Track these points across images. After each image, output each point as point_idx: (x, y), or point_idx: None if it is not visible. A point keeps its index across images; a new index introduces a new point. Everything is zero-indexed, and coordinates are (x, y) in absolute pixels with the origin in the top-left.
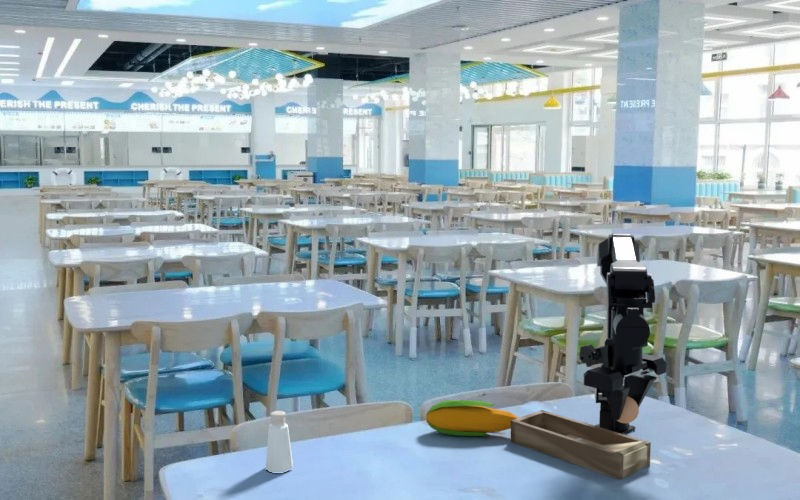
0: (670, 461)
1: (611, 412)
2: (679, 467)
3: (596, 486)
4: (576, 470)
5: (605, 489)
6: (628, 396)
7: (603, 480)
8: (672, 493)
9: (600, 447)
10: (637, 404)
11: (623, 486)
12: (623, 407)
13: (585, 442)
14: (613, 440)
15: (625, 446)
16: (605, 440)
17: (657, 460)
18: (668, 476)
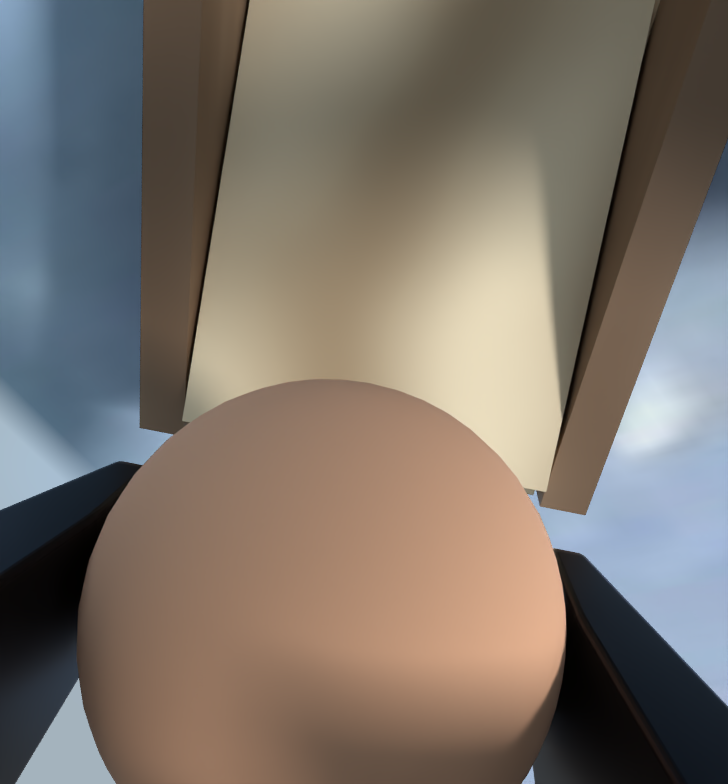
0: (697, 496)
1: (32, 500)
2: (617, 559)
3: (14, 280)
4: (129, 26)
5: (21, 341)
6: (643, 742)
7: (123, 276)
8: None
9: (183, 217)
10: (536, 778)
11: (136, 405)
12: (14, 763)
13: (195, 13)
14: (637, 139)
15: (376, 378)
16: (667, 30)
17: (674, 429)
18: None
